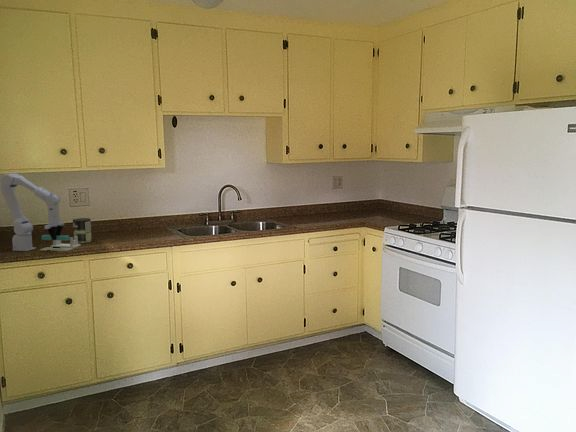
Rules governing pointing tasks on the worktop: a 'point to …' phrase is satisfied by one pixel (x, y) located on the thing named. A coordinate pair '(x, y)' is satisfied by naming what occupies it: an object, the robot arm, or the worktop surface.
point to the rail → (58, 237)
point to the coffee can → (82, 229)
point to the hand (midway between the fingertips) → (55, 239)
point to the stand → (72, 244)
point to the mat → (57, 249)
